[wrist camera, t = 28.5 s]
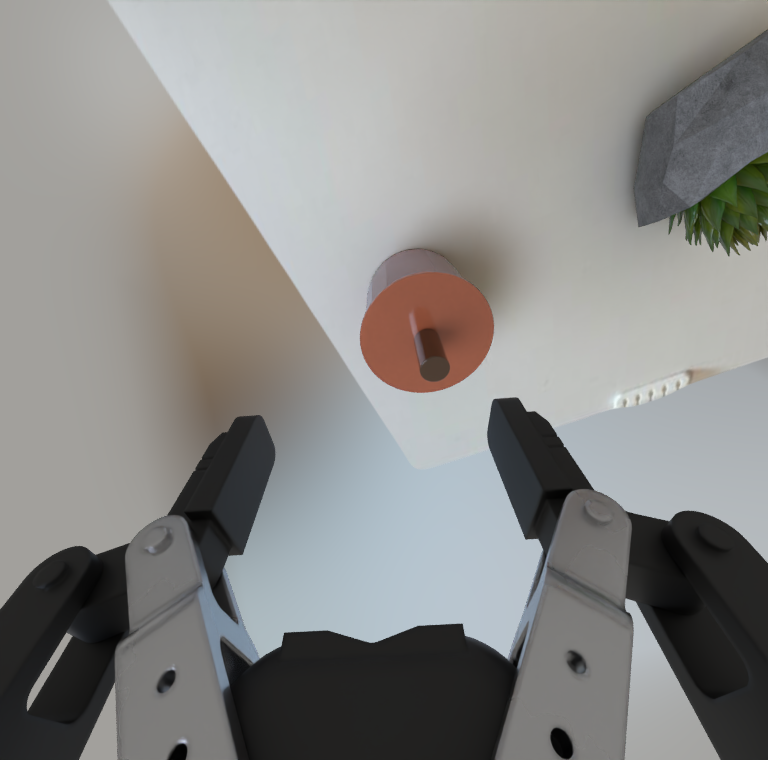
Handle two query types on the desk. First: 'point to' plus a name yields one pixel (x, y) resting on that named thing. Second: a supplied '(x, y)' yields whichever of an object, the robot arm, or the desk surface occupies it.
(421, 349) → the lid
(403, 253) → the tin
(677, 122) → the potted plant
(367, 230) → the desk surface
